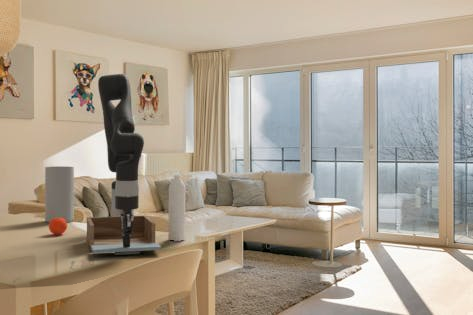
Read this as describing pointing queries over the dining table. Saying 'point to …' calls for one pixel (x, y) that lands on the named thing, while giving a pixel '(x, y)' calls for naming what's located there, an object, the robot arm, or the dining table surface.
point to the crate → (118, 230)
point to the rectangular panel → (125, 248)
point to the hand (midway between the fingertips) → (126, 246)
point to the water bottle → (177, 209)
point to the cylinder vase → (59, 193)
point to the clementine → (57, 226)
